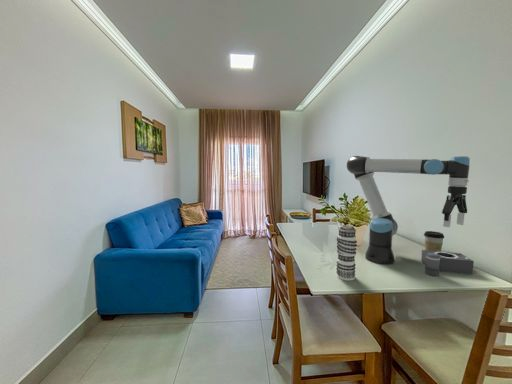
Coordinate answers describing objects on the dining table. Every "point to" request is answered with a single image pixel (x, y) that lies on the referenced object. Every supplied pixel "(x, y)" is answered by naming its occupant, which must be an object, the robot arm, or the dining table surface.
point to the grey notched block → (451, 262)
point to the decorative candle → (346, 253)
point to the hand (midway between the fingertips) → (453, 225)
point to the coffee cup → (433, 240)
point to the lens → (432, 264)
